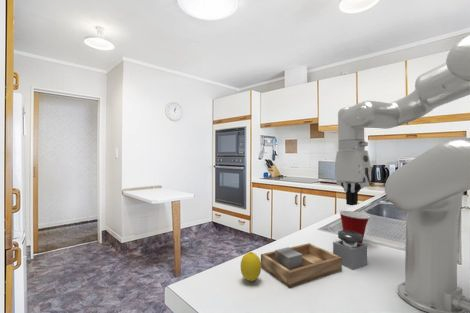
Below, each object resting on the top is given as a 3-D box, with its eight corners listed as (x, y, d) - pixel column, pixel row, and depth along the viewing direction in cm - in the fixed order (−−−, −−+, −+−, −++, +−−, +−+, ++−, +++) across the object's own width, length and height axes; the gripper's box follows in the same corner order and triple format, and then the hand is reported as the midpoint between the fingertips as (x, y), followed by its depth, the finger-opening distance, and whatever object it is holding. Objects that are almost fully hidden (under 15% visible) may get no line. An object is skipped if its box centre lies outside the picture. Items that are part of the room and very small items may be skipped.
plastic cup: (374, 250, 88) (375, 217, 87) (343, 248, 89) (343, 215, 89) (363, 239, 98) (364, 210, 98) (335, 238, 100) (335, 209, 100)
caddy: (341, 270, 72) (341, 250, 72) (289, 288, 62) (289, 265, 62) (309, 254, 83) (309, 237, 83) (260, 267, 74) (260, 247, 74)
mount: (366, 264, 76) (367, 245, 76) (352, 269, 73) (352, 249, 73) (347, 256, 82) (347, 238, 82) (333, 260, 79) (333, 242, 79)
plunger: (367, 262, 76) (367, 235, 76) (352, 267, 73) (352, 238, 73) (347, 254, 82) (347, 229, 82) (333, 258, 79) (333, 232, 79)
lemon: (248, 274, 70) (248, 246, 69) (264, 280, 66) (265, 251, 66) (236, 282, 65) (236, 252, 65) (253, 289, 62) (253, 258, 62)
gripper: (381, 145, 72) (382, 207, 72) (339, 147, 85) (339, 200, 85) (366, 144, 69) (367, 210, 68) (324, 147, 82) (324, 202, 81)
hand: (351, 204), depth 77 cm, fingers closed
